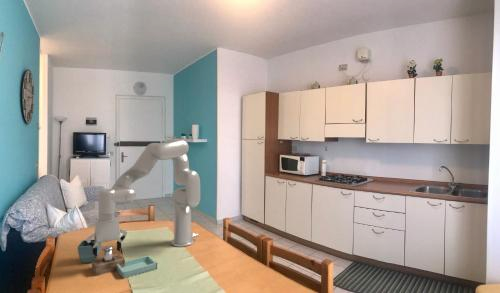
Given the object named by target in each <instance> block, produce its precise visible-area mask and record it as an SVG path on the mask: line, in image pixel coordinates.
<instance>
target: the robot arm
mask: <svg viewBox="0 0 500 293" xmlns="http://www.w3.org/2000/svg"><path fill="white" fill-rule="evenodd" d="M189 148H190V146H189V144H188V142H187V141H185V140H183V139H175V138H174V139H172V138H171V139H166V140H164V141H163V142H162V143H161V142H151V143H149V144H148V145H147V146H145V148H144V150H143V151H142V153H141V154H140V156H139V157H138V159H137V160H136V161H135V163H134V164H133V165H132V166H131V167H129V168H128V169H126V171H125V172H123V173H122V174H121V175H120V176H119V177H118V178H117V179H116V181H115V182H114V184H113V185H112V187H111V188H104V189H100V190H99V192H98V204H97V205H98V210H97V211H98V214H97V216H98V218H97V219H96V220H95V224H94V225H95V226H94V233H93V234H91V235H89V236H88V237H86V238H85V240H86V241H87V242H88V244H89V245H90V246H92V247H93V255H95V257H96V256H97V247H96V246H97V245H98V244H99V243H101V244H102V243H106V242H112V241H116V251H118V252H121V249H122V243H123V241H124V240H125V239H126V236H127V234H128V231H127V230H124V229H121V228H120V221H119V217H118V216H120V215H121V212H120V211H118V209H117V205H123V204H124V205H127V204H130V203H132V202H134V200H135V199H136V197H137V195H136V194H137V193H136V191H135V190H134V189H133V188H130V187H131V186H132V185H133V184H134V183H135V182H136V181H138V180H140V179H142V178H145V177H147V176H148V175H150V173H151V171H153V168H155V165H156V164H157V162H158V161H166V160H167V161H168V160H171V161H172V163H173V164H172V165H173V181H174V183H175V184H176V185H178V186H181V187H177V188H176V189H175V190H174V191H173V192H172V196H171V199H172V205H173V238H172V240H171V241H170V244H171V245H172V246H174V247H177V248H178V247H182V248H183V247H188V246H191V245H193V244H194V243H195V242H194V241H195V238H198V237H199V234H200V233H194V232H193V233H192V210H191V208H196V207H198V205H199V203H200V202H201V179H200V175H199V174H198V172H197V171H195V170H192V169H190V165H189V164H190V162H189V158H188V154H187V153H188V152H189ZM121 234H122V235H121ZM94 239H95V241H94V243H92V242H91V241H90V240H94Z"/></svg>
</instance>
